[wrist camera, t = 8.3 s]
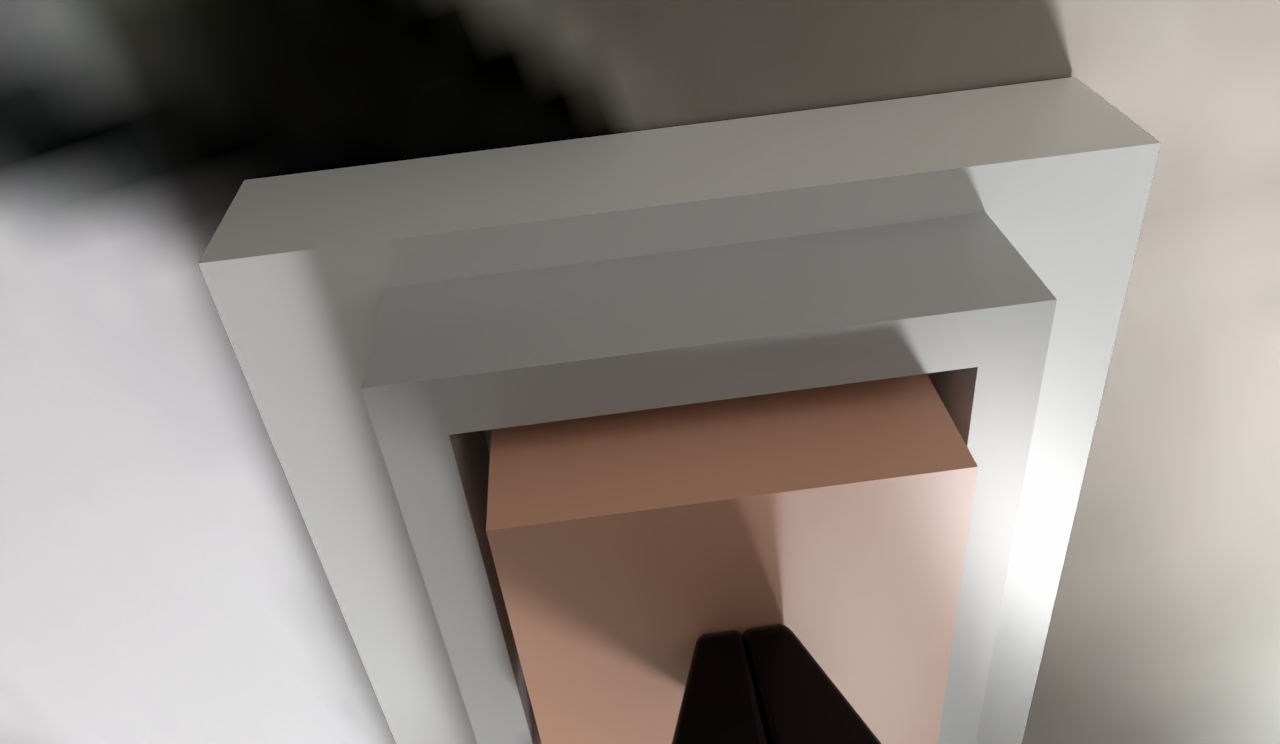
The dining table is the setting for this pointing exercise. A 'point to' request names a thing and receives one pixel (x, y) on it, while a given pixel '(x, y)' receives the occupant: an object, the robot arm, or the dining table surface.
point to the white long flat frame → (682, 344)
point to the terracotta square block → (733, 551)
